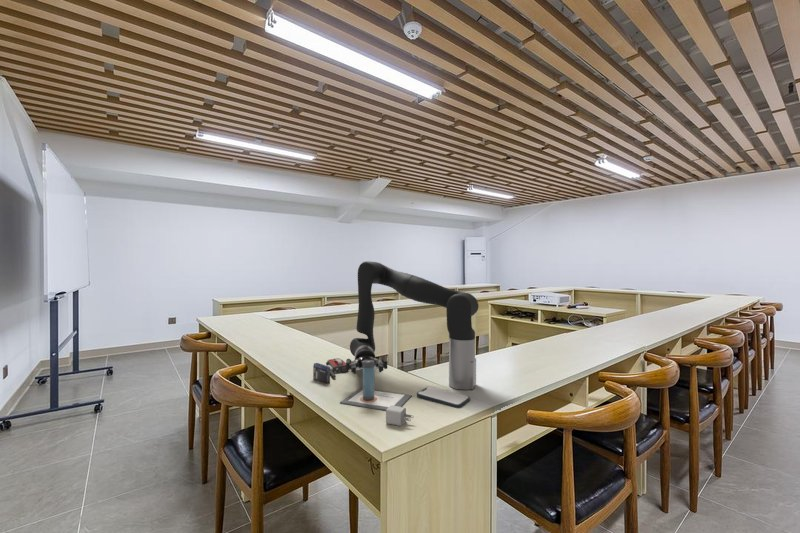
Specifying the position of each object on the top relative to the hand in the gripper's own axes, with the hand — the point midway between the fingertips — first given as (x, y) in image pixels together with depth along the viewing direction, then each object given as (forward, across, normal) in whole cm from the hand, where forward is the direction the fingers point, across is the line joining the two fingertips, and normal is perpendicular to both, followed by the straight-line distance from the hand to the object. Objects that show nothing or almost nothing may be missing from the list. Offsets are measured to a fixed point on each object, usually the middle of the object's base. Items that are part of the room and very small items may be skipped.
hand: (367, 370), depth 117 cm
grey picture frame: (+3, +3, +9) cm, 10 cm away
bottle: (+3, 0, +8) cm, 9 cm away
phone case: (+5, +24, +10) cm, 26 cm away
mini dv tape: (-19, -16, +9) cm, 26 cm away
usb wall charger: (+21, +8, +9) cm, 24 cm away
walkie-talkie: (-30, -11, +10) cm, 33 cm away
